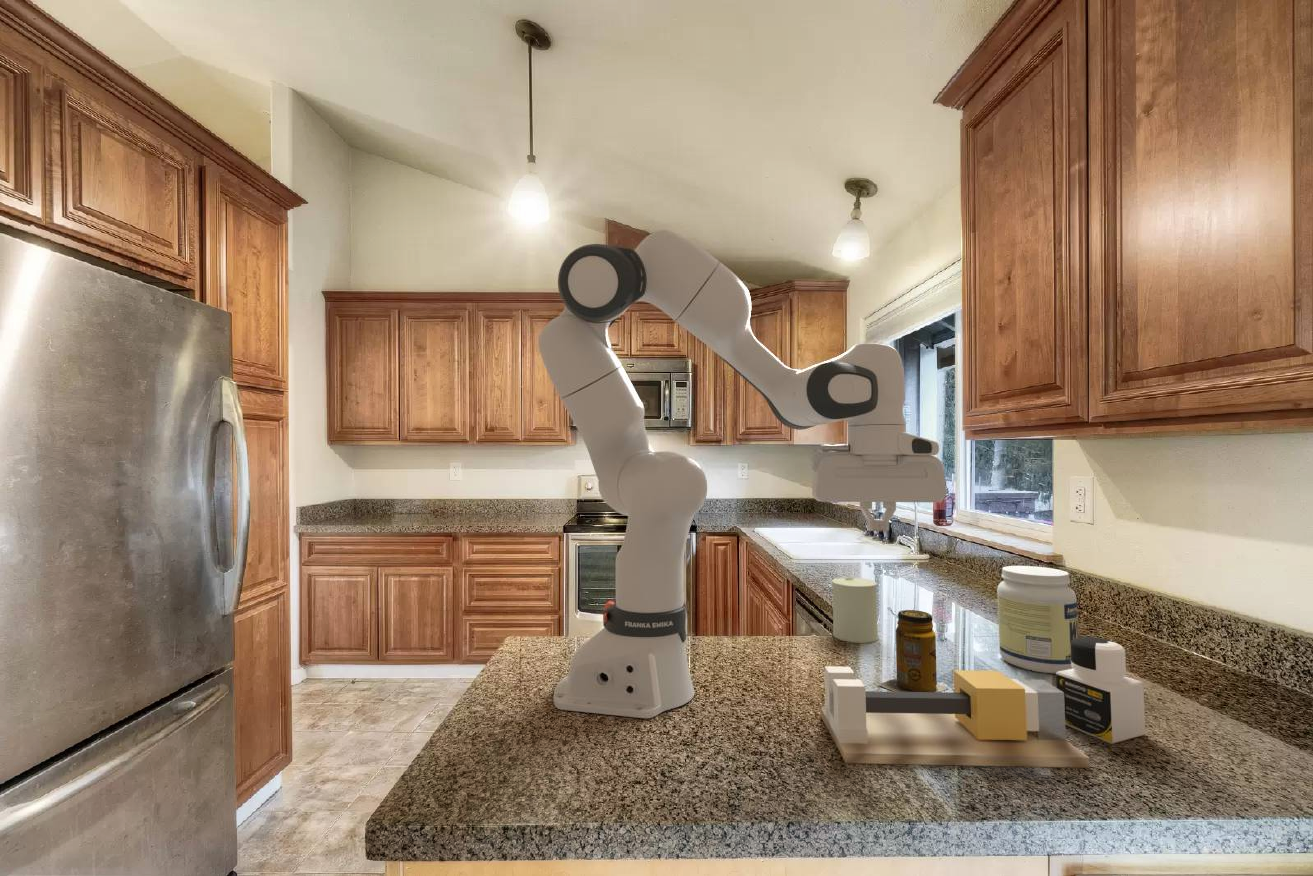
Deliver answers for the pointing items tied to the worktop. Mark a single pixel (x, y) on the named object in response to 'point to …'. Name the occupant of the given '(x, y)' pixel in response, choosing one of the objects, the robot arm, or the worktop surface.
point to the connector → (1048, 710)
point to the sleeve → (992, 705)
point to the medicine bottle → (1101, 692)
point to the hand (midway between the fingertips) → (878, 530)
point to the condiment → (915, 654)
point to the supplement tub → (1036, 618)
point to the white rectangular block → (1030, 707)
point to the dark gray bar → (918, 702)
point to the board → (949, 744)
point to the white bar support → (845, 705)
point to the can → (855, 610)
